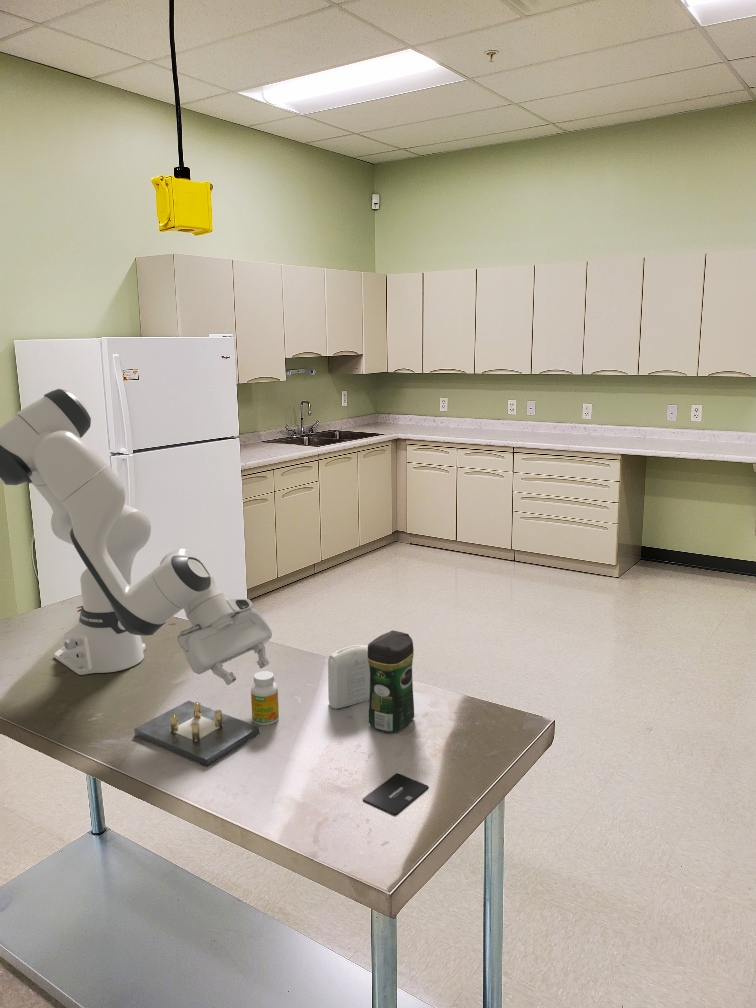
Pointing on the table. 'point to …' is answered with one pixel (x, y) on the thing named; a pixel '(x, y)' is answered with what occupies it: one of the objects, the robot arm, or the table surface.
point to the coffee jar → (391, 682)
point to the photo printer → (348, 676)
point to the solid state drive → (395, 794)
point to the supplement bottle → (264, 699)
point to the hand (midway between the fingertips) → (249, 674)
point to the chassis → (197, 732)
